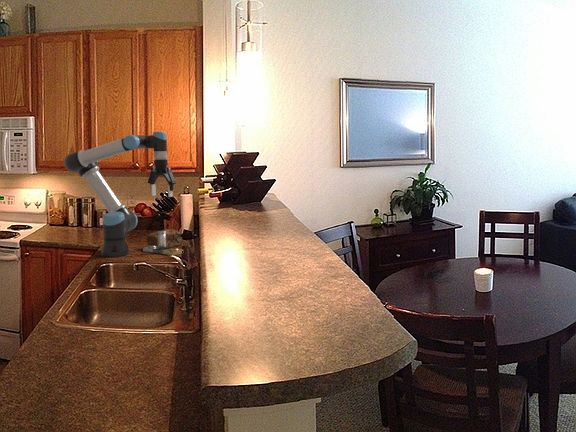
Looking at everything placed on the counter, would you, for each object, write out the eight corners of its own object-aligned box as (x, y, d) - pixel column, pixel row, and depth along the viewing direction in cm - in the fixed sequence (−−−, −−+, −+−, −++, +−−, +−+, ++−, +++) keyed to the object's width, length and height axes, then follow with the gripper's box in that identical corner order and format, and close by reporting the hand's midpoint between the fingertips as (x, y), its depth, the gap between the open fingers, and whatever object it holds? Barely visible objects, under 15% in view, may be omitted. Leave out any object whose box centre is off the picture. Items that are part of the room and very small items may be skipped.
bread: (171, 243, 340) (170, 227, 338) (182, 245, 333) (181, 229, 332) (146, 248, 325) (145, 231, 324) (157, 250, 319) (157, 233, 317)
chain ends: (143, 251, 315) (142, 246, 314) (153, 249, 321) (153, 244, 321) (173, 255, 302) (173, 250, 301) (183, 253, 308) (183, 248, 308)
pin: (157, 252, 311) (156, 231, 309) (162, 251, 315) (162, 230, 313) (162, 253, 308) (161, 232, 307) (168, 251, 312) (167, 231, 311)
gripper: (140, 159, 313) (142, 195, 316) (171, 159, 300) (173, 197, 302) (150, 158, 319) (151, 194, 322) (181, 158, 306) (182, 196, 309)
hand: (162, 196), depth 312 cm, fingers open, 13 cm apart
